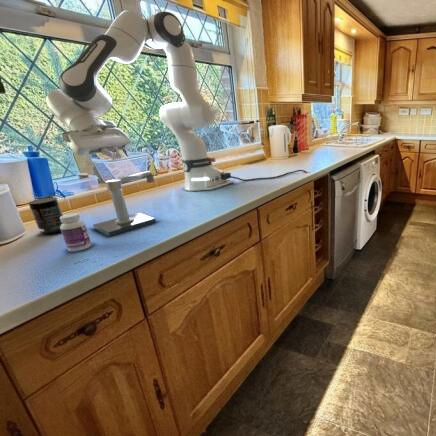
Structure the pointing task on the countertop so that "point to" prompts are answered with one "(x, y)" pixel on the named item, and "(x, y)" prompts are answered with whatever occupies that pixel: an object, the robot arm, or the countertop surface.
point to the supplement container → (47, 215)
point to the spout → (128, 180)
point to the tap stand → (122, 217)
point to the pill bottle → (74, 232)
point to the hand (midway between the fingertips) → (118, 158)
